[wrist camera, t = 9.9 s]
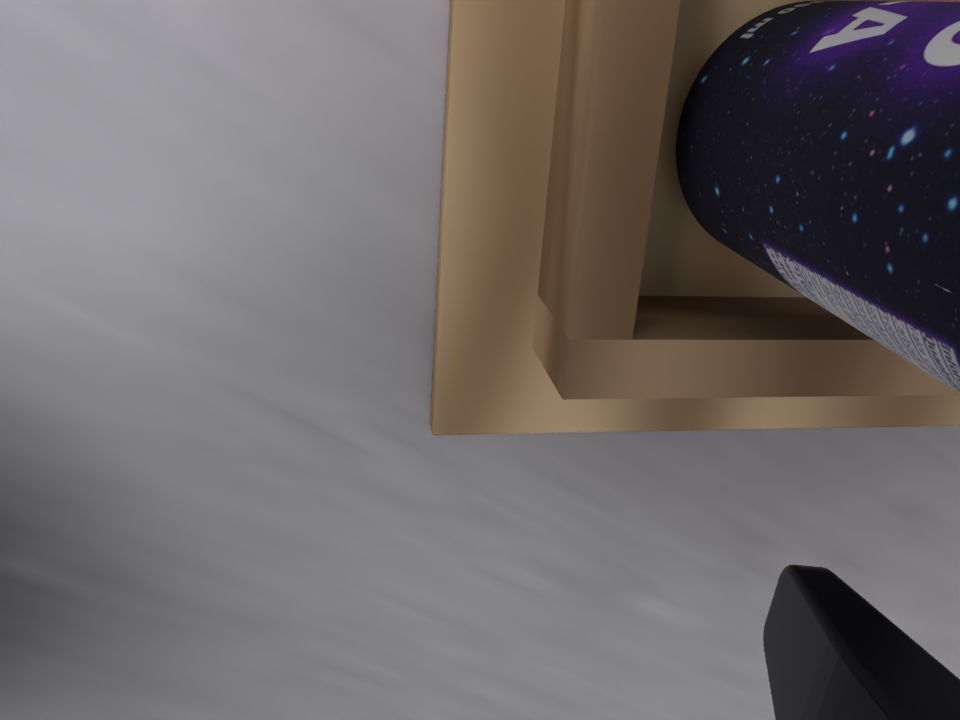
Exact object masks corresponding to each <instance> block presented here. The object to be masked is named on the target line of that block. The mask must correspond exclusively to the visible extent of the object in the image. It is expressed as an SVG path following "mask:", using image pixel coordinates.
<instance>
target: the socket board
mask: <svg viewBox="0 0 960 720" xmlns="http://www.w3.org/2000/svg"><path fill="white" fill-rule="evenodd" d="M802 1H926V2H960V0H450V14H449V36H448V57H447V78H446V99H445V120H444V141H443V163H442V184H441V205H440V226H439V247H438V268H437V290H436V311H435V332H434V353H433V374H432V396H431V417H430V426H431V430H432V434H433V435H464V434H518V433H572V432H627V431H681V430H735V429H789V428H844V427H898V426H952V425H960V394H959V393H957V392H956V391H954V390H953V389H951V388H950V387H948V386H946V385H945V384H943V383H942V382H940V381H938V380H937V379H935V378H934V377H932V376H931V375H929V374H927V373H926V372H924V371H923V370H921V369H919V368H918V367H916V366H915V365H913V364H912V363H910V362H908V361H907V360H905V359H904V358H902V357H900V356H899V355H897V354H896V353H894V352H892V351H891V350H889V349H888V348H886V347H885V346H883V345H881V344H880V343H878V342H877V341H875V340H873V339H872V338H870V337H869V336H867V335H866V334H864V333H862V332H861V331H859V330H858V329H856V328H854V327H853V326H851V325H850V324H848V323H847V322H845V321H843V320H842V319H840V318H839V317H837V316H835V315H834V314H832V313H831V312H829V311H828V310H826V309H824V308H823V307H821V306H820V305H818V304H816V303H815V302H813V301H812V300H810V299H809V298H807V297H805V296H804V295H802V294H801V293H799V292H797V291H796V290H794V289H793V288H791V287H790V286H788V285H786V284H785V283H783V282H782V281H780V280H778V279H777V278H775V277H774V276H772V275H770V274H769V273H767V272H766V271H764V270H763V269H761V268H759V267H758V266H756V265H755V264H753V263H751V262H750V261H748V260H747V259H745V258H744V257H742V256H740V255H739V254H737V253H736V252H734V251H732V250H731V249H729V248H728V247H726V246H725V245H723V244H721V243H720V242H719V241H717V240H716V239H714V238H713V237H712V236H711V235H710V234H709V233H708V232H707V231H706V230H705V229H704V228H703V227H702V226H701V225H700V224H699V223H698V221H697V220H696V218H695V217H694V216H693V214H692V212H691V211H690V209H689V207H688V205H687V203H686V201H685V198H684V196H683V193H682V190H681V187H680V183H679V179H678V173H677V166H676V138H677V130H678V125H679V120H680V116H681V112H682V109H683V106H684V103H685V100H686V98H687V95H688V93H689V90H690V88H691V86H692V84H693V82H694V80H695V78H696V77H697V75H698V73H699V72H700V70H701V68H702V67H703V66H704V64H705V63H706V61H707V60H708V59H709V57H710V56H711V55H712V53H713V52H714V51H715V50H716V49H717V48H718V47H719V46H720V44H721V43H722V42H723V41H725V40H726V39H727V38H728V37H729V36H730V35H731V34H732V33H733V32H735V31H736V30H737V29H738V28H740V27H741V26H742V25H744V24H745V23H747V22H748V21H750V20H752V19H753V18H755V17H757V16H759V15H761V14H762V13H764V12H767V11H769V10H771V9H774V8H777V7H780V6H783V5H786V4H790V3H795V2H802Z"/></svg>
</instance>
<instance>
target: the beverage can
mask: <svg viewBox="0 0 960 720" xmlns="http://www.w3.org/2000/svg"><path fill="white" fill-rule="evenodd" d="M676 166H677V173H678V179H679V183H680V187H681V190H682V193H683V196H684V198H685V201H686V203H687V205H688V207H689V209H690V211H691V212H692V214H693V216H694V217H695V218H696V220H697V221H698V223H699V224H700V225H701V226H702V227H703V228H704V229H705V230H706V231H707V232H708V233H709V234H710V235H711V236H712V237H713V238H714V239H716V240H717V241H719V242H720V243H721V244H723V245H725V246H726V247H728V248H729V249H731V250H732V251H734V252H736V253H737V254H739V255H740V256H742V257H744V258H745V259H747V260H748V261H750V262H751V263H753V264H755V265H756V266H758V267H759V268H761V269H763V270H764V271H766V272H767V273H769V274H770V275H772V276H774V277H775V278H777V279H778V280H780V281H782V282H783V283H785V284H786V285H788V286H790V287H791V288H793V289H794V290H796V291H797V292H799V293H801V294H802V295H804V296H805V297H807V298H809V299H810V300H812V301H813V302H815V303H816V304H818V305H820V306H821V307H823V308H824V309H826V310H828V311H829V312H831V313H832V314H834V315H835V316H837V317H839V318H840V319H842V320H843V321H845V322H847V323H848V324H850V325H851V326H853V327H854V328H856V329H858V330H859V331H861V332H862V333H864V334H866V335H867V336H869V337H870V338H872V339H873V340H875V341H877V342H878V343H880V344H881V345H883V346H885V347H886V348H888V349H889V350H891V351H892V352H894V353H896V354H897V355H899V356H900V357H902V358H904V359H905V360H907V361H908V362H910V363H912V364H913V365H915V366H916V367H918V368H919V369H921V370H923V371H924V372H926V373H927V374H929V375H931V376H932V377H934V378H935V379H937V380H938V381H940V382H942V383H943V384H945V385H946V386H948V387H950V388H951V389H953V390H954V391H956V392H957V393H959V394H960V2H926V1H802V2H795V3H790V4H786V5H783V6H780V7H777V8H774V9H771V10H769V11H767V12H764V13H762V14H761V15H759V16H757V17H755V18H753V19H752V20H750V21H748V22H747V23H745V24H744V25H742V26H741V27H740V28H738V29H737V30H736V31H735V32H733V33H732V34H731V35H730V36H729V37H728V38H727V39H726V40H725V41H723V42H722V43H721V44H720V46H719V47H718V48H717V49H716V50H715V51H714V52H713V53H712V55H711V56H710V57H709V59H708V60H707V61H706V63H705V64H704V66H703V67H702V68H701V70H700V72H699V73H698V75H697V77H696V78H695V80H694V82H693V84H692V86H691V88H690V90H689V93H688V95H687V98H686V100H685V103H684V106H683V109H682V112H681V116H680V120H679V125H678V130H677V138H676Z"/></svg>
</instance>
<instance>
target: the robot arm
mask: <svg viewBox="0 0 960 720" xmlns="http://www.w3.org/2000/svg"><path fill="white" fill-rule="evenodd" d="M763 641H764V652H765V658H766V664H767V670H768V676H769V682H770V688H771V694H772V700H773V706H774V712H775V718H776V720H960V679H959V678H957V677H956V676H955V675H954V674H953V673H952V672H950V671H949V670H948V669H947V668H946V667H944V666H943V665H942V664H941V663H940V662H939V661H937V660H936V659H935V658H934V657H933V656H931V655H930V654H929V653H928V652H927V651H925V650H924V649H923V648H922V647H921V646H920V645H918V644H917V643H916V642H915V641H914V640H912V639H911V638H910V637H909V636H908V635H906V634H905V633H904V632H903V631H902V630H901V629H899V628H898V627H897V626H896V625H895V624H893V623H892V622H891V621H890V620H889V619H888V618H886V617H885V616H884V615H883V614H882V613H880V612H879V611H878V610H877V609H876V608H874V607H873V606H872V605H871V604H870V603H869V602H867V601H866V600H865V599H864V598H863V597H861V596H860V595H859V594H858V593H857V592H855V591H854V590H853V589H852V588H851V587H850V586H848V585H847V584H846V583H845V582H844V581H842V580H841V579H840V578H839V577H838V576H837V575H835V574H834V573H833V572H831V571H830V570H828V569H826V568H822V567H813V566H802V565H789V566H787V567H785V568H784V570H783V571H782V573H781V575H780V577H779V580H778V583H777V587H776V590H775V593H774V596H773V599H772V603H771V606H770V609H769V612H768V615H767V619H766V622H765V626H764V636H763Z"/></svg>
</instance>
